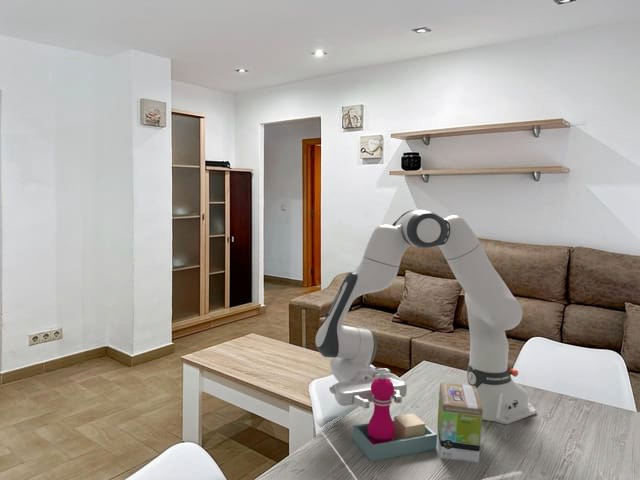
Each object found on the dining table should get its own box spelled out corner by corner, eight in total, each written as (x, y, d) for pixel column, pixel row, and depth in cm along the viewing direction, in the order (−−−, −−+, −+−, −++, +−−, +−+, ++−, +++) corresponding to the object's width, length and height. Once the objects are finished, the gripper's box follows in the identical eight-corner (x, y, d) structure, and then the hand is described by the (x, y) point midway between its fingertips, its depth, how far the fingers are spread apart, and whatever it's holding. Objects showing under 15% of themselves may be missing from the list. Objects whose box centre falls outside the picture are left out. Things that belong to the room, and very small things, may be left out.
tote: (414, 430, 134) (414, 415, 134) (436, 450, 124) (437, 434, 123) (352, 441, 128) (353, 425, 127) (370, 464, 117) (371, 446, 117)
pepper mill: (366, 438, 128) (367, 367, 126) (393, 439, 128) (395, 368, 126) (367, 453, 121) (369, 378, 119) (396, 454, 121) (398, 379, 119)
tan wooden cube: (412, 434, 131) (413, 413, 130) (424, 445, 125) (425, 423, 125) (393, 437, 129) (394, 416, 128) (404, 448, 123) (405, 427, 123)
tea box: (480, 465, 118) (483, 408, 116) (438, 460, 120) (441, 404, 118) (473, 435, 132) (476, 384, 131) (436, 430, 134) (438, 380, 133)
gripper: (327, 375, 131) (346, 396, 118) (392, 367, 138) (417, 386, 125) (326, 397, 132) (346, 420, 119) (391, 388, 139) (416, 409, 126)
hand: (383, 402), depth 122 cm, fingers open, 8 cm apart
